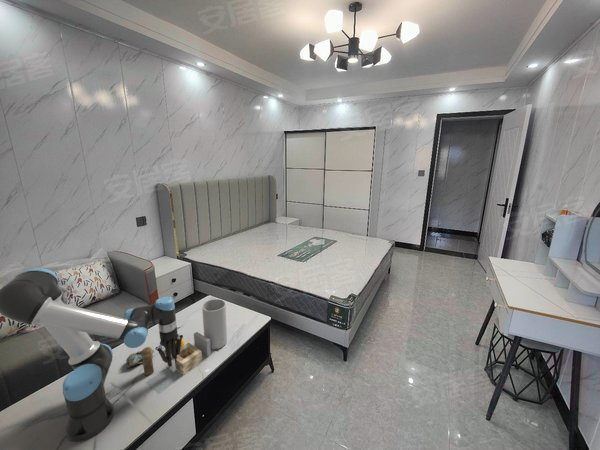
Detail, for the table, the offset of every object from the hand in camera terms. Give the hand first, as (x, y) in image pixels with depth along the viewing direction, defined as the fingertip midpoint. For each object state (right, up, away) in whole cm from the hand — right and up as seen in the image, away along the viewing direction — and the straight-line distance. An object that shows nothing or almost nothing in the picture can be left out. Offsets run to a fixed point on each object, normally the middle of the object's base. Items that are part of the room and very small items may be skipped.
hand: (173, 369), depth 129 cm
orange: (-7, +1, +18) cm, 20 cm away
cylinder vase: (+14, +2, +24) cm, 28 cm away
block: (+4, -1, +7) cm, 8 cm away
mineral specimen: (-21, -1, +9) cm, 23 cm away
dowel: (-12, -3, +1) cm, 12 cm away
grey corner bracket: (+2, -2, +4) cm, 5 cm away
